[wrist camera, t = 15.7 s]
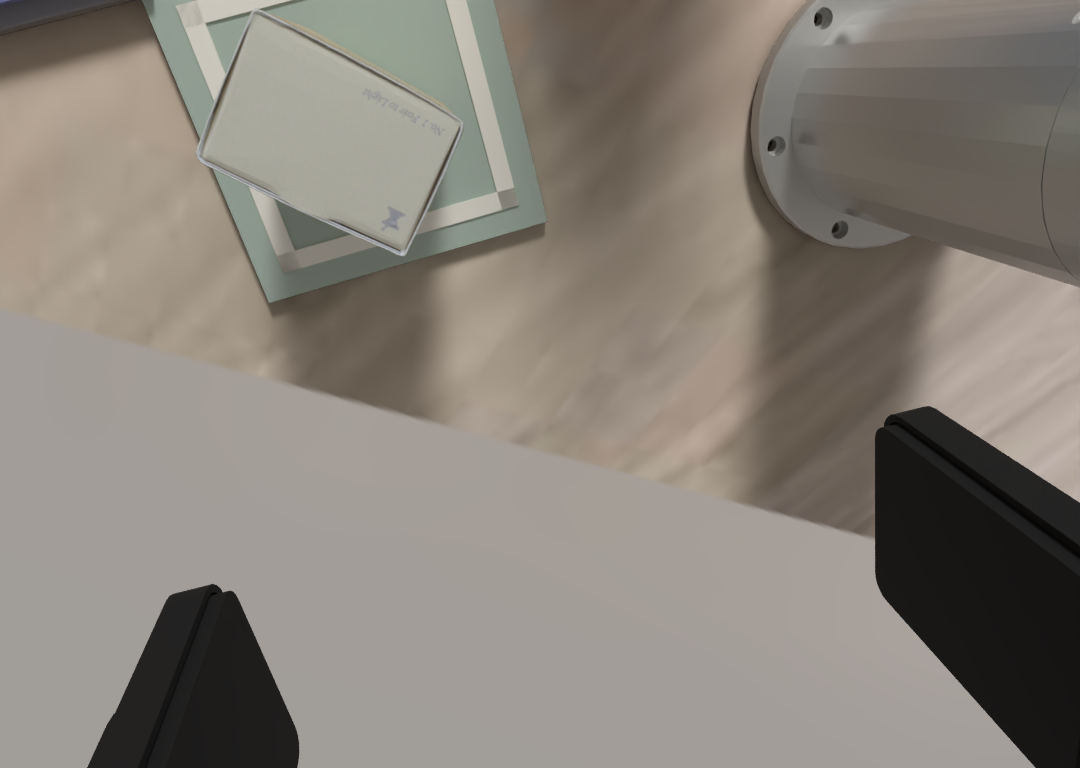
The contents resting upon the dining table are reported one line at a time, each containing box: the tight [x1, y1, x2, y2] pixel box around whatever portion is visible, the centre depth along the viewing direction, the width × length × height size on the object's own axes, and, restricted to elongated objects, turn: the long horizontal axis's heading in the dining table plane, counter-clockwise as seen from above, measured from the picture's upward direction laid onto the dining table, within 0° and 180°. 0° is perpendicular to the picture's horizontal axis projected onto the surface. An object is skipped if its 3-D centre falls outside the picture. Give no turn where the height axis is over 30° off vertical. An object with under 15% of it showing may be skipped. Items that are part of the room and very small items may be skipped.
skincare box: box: [196, 9, 464, 257], centre depth 26 cm, size 6×4×12 cm
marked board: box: [142, 0, 548, 303], centre depth 32 cm, size 13×13×1 cm
